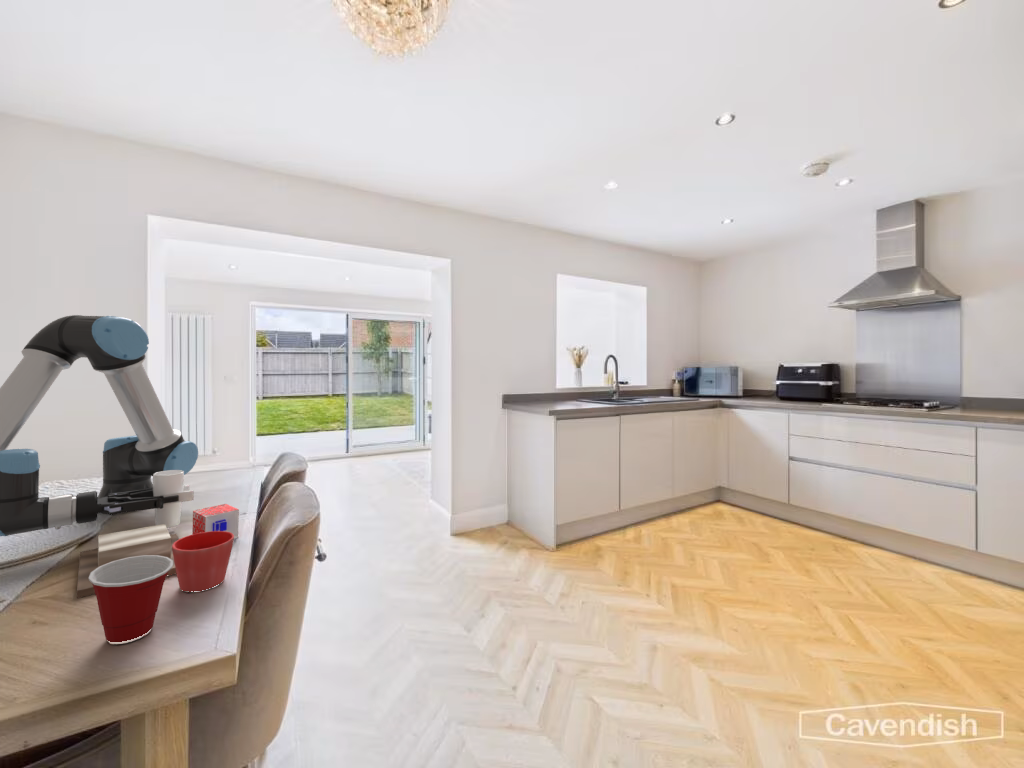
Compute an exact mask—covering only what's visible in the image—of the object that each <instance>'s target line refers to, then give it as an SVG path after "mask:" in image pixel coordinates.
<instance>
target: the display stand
mask: <svg viewBox="0 0 1024 768" xmlns="http://www.w3.org/2000/svg"><path fill="white" fill-rule="evenodd" d="M97 539H98V542H97V544H98V545H97V548H92V549H88V550H83V551H80V552H79V561H78V575H77V587H76V588H77V589H76V598H77V599H79V598H83V597H84V598H85V597H88V596H92V595H95V590H94V588H93V584H92V583H91V582H90V581H89V576H90V573H91V572H92V571H94V570H95V569H97V568H98V567H100V566H102V565H105V564H107V563H110V562H112V561H116V560H120V559H124V558H128V557H135V556H143V555H158V556H164V557H168V558H170V559H171V560H173V566H172V568H171V569H170V570H169V572H168V574H167V575H170V576H172V575H171V574H174V575H177V574H176V568H175V563H174V557H173V551H172V545H173V543H174V542H176V541H177V540H179V539H180V538H179V536H178V534H177V533H172V534H170V532H169V530H168V528H167V527H166V525H165V524H161V525H156V524H155V525H150V526H145V527H139V528H134V529H128V530H126V529H125V530H123V531H122V530H121V531H117V532H116V531H115V532H110V533H109V532H108V533H103V534H99V535H98V538H97ZM91 594H92V595H91ZM87 595H88V596H87Z"/></svg>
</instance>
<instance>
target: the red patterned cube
mask: <svg viewBox="0 0 1024 768" xmlns="http://www.w3.org/2000/svg"><path fill="white" fill-rule="evenodd" d="M239 519H240V509H239V508H237V507H235V506H232V505H229V504H227V503H224V504H219V505H214V506H209V507H203V508H199V509H195V510H192V532H191V533H192V534H191V535H193V534H197V533H202V532H209V531H226V532H231V533H232V534H233V535H234V539H237V538H239V521H240V520H239Z"/></svg>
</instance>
